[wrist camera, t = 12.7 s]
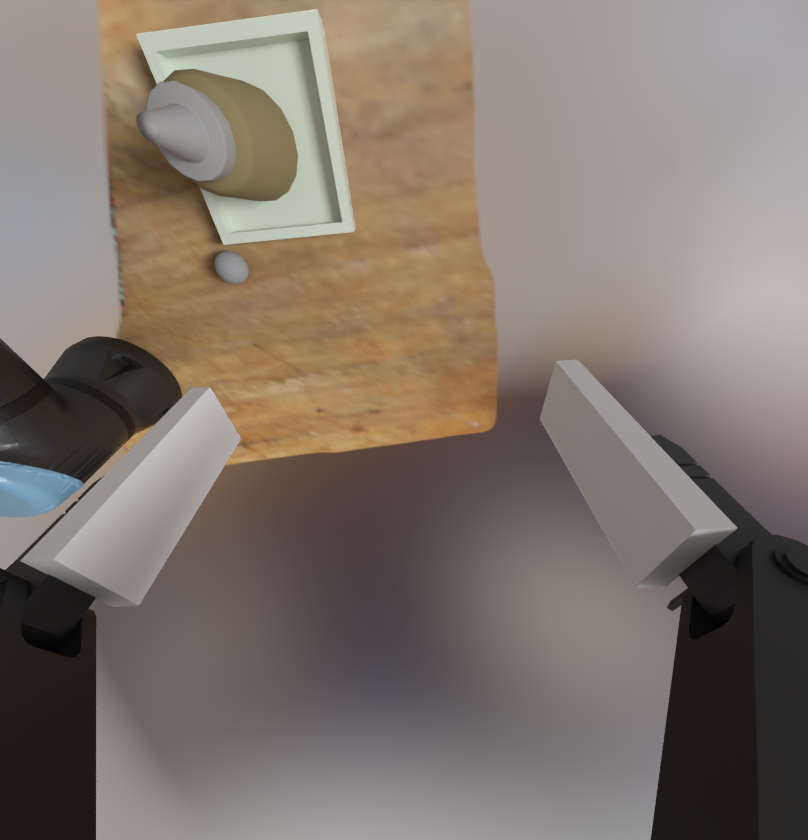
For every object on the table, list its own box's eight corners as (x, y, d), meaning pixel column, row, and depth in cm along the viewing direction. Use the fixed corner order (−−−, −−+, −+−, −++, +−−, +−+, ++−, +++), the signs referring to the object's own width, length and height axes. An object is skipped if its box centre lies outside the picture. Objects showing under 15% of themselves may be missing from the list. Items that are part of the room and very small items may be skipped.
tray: (233, 241, 35) (223, 244, 33) (155, 44, 26) (135, 34, 24) (355, 228, 35) (353, 232, 33) (322, 21, 25) (316, 9, 23)
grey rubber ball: (231, 280, 38) (217, 288, 35) (217, 249, 36) (202, 255, 33) (258, 278, 38) (246, 286, 35) (246, 246, 36) (233, 252, 33)
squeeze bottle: (217, 168, 30) (65, 163, 17) (232, 65, 26) (40, -59, 12) (294, 215, 33) (217, 245, 19) (319, 129, 29) (242, 88, 15)
